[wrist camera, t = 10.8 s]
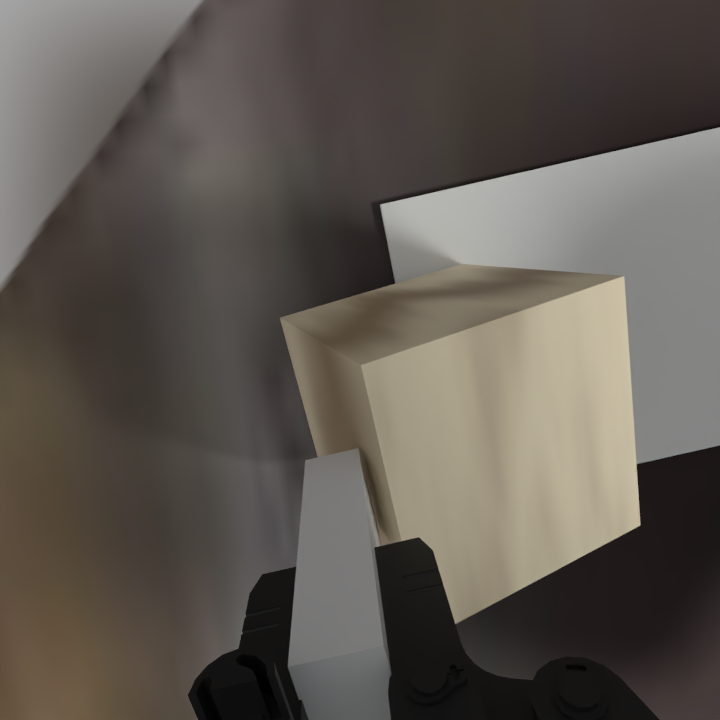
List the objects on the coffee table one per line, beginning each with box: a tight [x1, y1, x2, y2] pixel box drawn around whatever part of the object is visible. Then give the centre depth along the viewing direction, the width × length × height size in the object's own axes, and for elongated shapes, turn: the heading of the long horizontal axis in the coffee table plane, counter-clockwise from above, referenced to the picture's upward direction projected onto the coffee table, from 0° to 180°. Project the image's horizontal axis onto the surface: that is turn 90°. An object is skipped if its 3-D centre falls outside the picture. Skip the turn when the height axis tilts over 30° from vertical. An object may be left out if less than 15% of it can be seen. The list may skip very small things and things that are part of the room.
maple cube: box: [280, 264, 640, 624], centre depth 18 cm, size 8×8×8 cm
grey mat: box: [380, 127, 720, 464], centre depth 23 cm, size 14×14×1 cm
